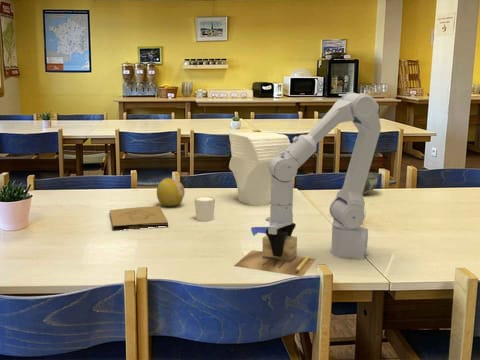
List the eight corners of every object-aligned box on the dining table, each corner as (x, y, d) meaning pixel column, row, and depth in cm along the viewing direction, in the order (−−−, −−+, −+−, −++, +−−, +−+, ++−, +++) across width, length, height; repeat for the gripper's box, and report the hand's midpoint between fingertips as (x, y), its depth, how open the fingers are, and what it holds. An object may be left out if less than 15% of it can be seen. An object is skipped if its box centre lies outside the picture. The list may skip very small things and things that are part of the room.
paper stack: (224, 197, 215) (224, 131, 209) (288, 192, 223) (290, 129, 217) (240, 210, 195) (241, 139, 190) (310, 205, 203) (312, 136, 198)
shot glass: (219, 218, 185) (219, 198, 183) (204, 223, 180) (204, 202, 179) (205, 215, 189) (205, 195, 188) (190, 218, 185) (190, 198, 183)
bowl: (352, 188, 231) (353, 169, 230) (382, 192, 224) (384, 173, 222) (338, 194, 220) (338, 175, 219) (369, 199, 213) (370, 179, 211)
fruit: (167, 210, 194) (167, 183, 192) (151, 204, 202) (150, 178, 200) (191, 206, 201) (190, 179, 199) (174, 200, 209) (173, 174, 207)
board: (315, 263, 144) (316, 259, 144) (302, 281, 132) (302, 276, 132) (251, 254, 151) (252, 250, 151) (233, 270, 139) (233, 265, 139)
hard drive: (283, 238, 161) (276, 226, 173) (256, 239, 161) (251, 226, 173) (283, 243, 162) (276, 231, 174) (255, 244, 161) (251, 231, 173)
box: (109, 214, 191) (109, 208, 190) (160, 211, 195) (159, 205, 195) (112, 232, 171) (112, 225, 170) (168, 228, 175) (168, 221, 175)
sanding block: (296, 256, 146) (297, 236, 144) (291, 262, 141) (292, 241, 140) (267, 252, 148) (268, 233, 147) (262, 257, 144) (262, 237, 143)
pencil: (306, 258, 144) (307, 255, 144) (309, 258, 144) (309, 256, 144) (294, 273, 134) (294, 270, 134) (297, 273, 134) (297, 270, 134)
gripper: (275, 195, 150) (274, 242, 153) (257, 208, 137) (256, 259, 139) (300, 197, 147) (299, 246, 150) (284, 211, 134) (283, 263, 137)
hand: (280, 252), depth 145 cm, fingers closed on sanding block, 4 cm apart
